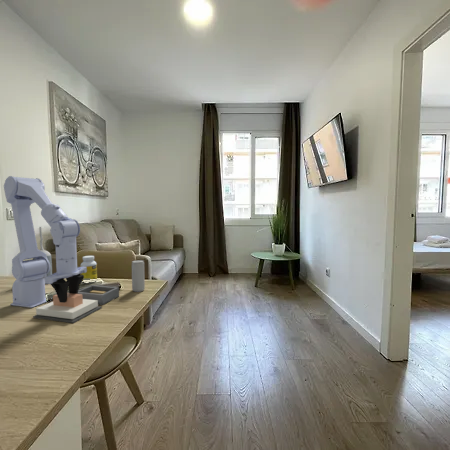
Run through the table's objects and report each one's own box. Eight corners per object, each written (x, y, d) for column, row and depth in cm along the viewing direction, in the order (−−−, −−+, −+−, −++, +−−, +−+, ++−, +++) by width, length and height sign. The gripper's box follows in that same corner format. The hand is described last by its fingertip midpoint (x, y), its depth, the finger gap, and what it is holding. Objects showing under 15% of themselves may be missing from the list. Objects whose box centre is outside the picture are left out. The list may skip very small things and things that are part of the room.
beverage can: (133, 288, 112) (133, 260, 111) (145, 288, 112) (145, 260, 111) (130, 292, 107) (130, 262, 106) (143, 292, 107) (142, 262, 107)
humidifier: (37, 280, 123) (34, 226, 121) (57, 279, 125) (54, 226, 123) (28, 285, 115) (25, 227, 113) (50, 284, 117) (47, 227, 115)
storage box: (74, 301, 96) (73, 292, 96) (92, 293, 105) (91, 285, 105) (102, 305, 93) (102, 295, 93) (119, 296, 102) (118, 287, 102)
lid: (36, 314, 83) (35, 298, 83) (64, 302, 93) (63, 288, 93) (72, 319, 80) (72, 302, 80) (97, 306, 90) (97, 291, 90)
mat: (32, 317, 83) (32, 316, 83) (64, 304, 94) (64, 302, 94) (73, 323, 79) (73, 321, 79) (101, 308, 91) (101, 306, 91)
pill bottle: (90, 284, 117) (89, 258, 117) (77, 283, 119) (76, 257, 118) (100, 280, 124) (99, 255, 123) (88, 279, 125) (87, 254, 124)
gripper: (57, 263, 77) (59, 309, 78) (93, 254, 91) (95, 293, 92) (37, 262, 79) (40, 307, 80) (76, 253, 93) (77, 291, 94)
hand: (68, 299), depth 86 cm, fingers closed on lid, 3 cm apart
